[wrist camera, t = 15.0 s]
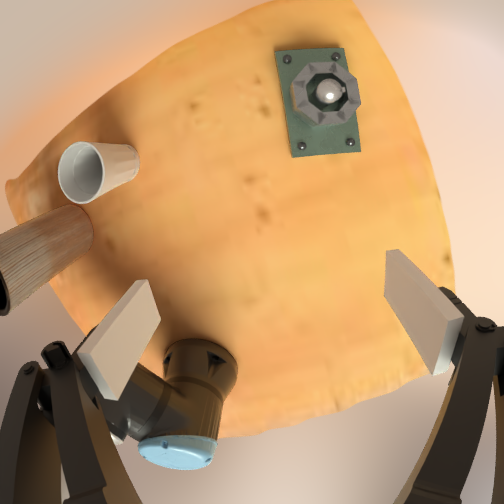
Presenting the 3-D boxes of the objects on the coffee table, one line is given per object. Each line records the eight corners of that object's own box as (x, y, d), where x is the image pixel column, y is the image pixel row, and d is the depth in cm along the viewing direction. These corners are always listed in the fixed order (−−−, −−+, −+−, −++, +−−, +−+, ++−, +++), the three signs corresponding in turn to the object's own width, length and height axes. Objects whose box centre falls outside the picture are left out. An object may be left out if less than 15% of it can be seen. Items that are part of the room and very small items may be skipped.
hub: (295, 129, 37) (299, 126, 31) (286, 75, 34) (288, 64, 28) (350, 124, 36) (363, 122, 30) (341, 72, 33) (353, 61, 27)
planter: (101, 220, 45) (10, 276, 24) (86, 264, 48) (9, 330, 27) (62, 194, 43) (-31, 233, 22) (51, 237, 47) (-30, 288, 25)
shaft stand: (291, 157, 39) (297, 160, 31) (274, 54, 34) (275, 32, 26) (357, 151, 38) (379, 154, 30) (341, 50, 33) (357, 30, 24)
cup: (130, 129, 39) (87, 128, 28) (153, 170, 41) (115, 181, 30) (95, 157, 41) (49, 166, 30) (117, 196, 43) (75, 215, 32)
